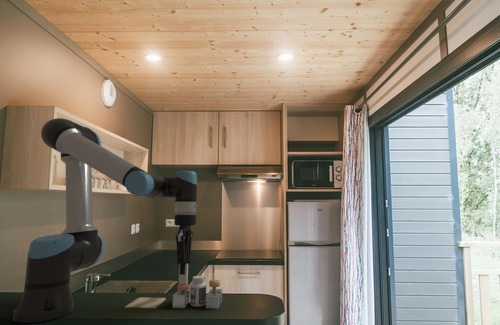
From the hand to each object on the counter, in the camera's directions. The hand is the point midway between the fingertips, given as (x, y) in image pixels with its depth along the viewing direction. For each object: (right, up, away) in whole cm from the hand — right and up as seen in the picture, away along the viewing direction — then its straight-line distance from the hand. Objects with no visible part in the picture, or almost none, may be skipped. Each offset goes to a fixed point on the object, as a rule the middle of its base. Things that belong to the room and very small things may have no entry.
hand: (183, 283), depth 98 cm
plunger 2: (+11, -4, -1) cm, 12 cm away
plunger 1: (0, -5, -1) cm, 5 cm away
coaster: (-13, -7, 0) cm, 14 cm away
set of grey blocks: (+5, -6, -1) cm, 9 cm away
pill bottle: (+5, -7, -1) cm, 9 cm away
